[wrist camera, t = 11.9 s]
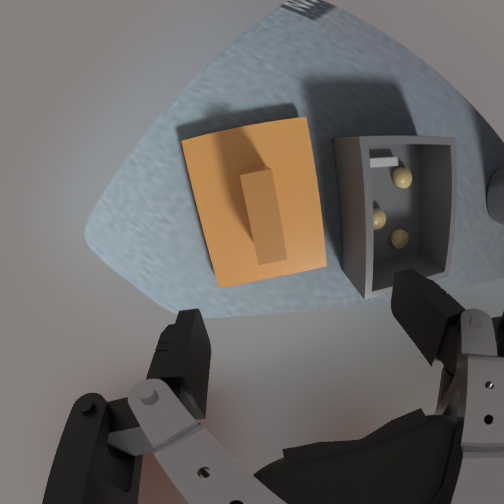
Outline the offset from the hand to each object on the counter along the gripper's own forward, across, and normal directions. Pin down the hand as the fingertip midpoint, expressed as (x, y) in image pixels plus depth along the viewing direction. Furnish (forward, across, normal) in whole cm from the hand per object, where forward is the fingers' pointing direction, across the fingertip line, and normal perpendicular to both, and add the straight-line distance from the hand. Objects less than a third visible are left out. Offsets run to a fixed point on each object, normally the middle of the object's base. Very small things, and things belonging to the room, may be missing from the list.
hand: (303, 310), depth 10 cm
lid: (+20, 0, 0) cm, 20 cm away
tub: (+20, -15, +2) cm, 25 cm away
